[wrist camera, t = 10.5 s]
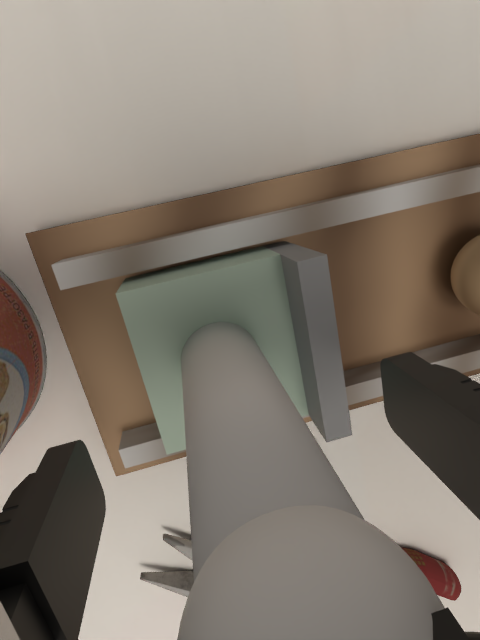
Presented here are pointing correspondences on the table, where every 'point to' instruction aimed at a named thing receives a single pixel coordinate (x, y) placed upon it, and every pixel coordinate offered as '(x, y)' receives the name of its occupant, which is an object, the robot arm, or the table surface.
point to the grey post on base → (266, 452)
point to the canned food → (18, 360)
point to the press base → (301, 229)
